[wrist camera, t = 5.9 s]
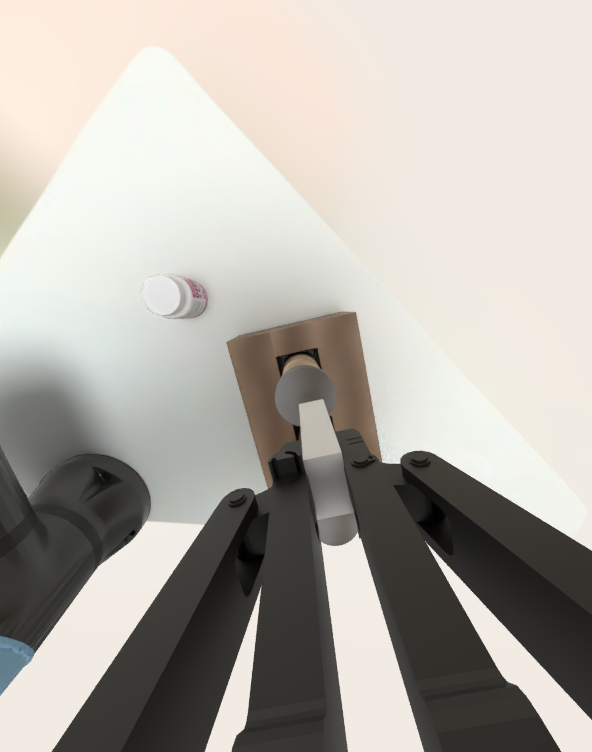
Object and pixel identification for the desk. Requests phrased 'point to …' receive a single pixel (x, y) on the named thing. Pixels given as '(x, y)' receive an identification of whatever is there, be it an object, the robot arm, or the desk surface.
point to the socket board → (333, 355)
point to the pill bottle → (173, 296)
